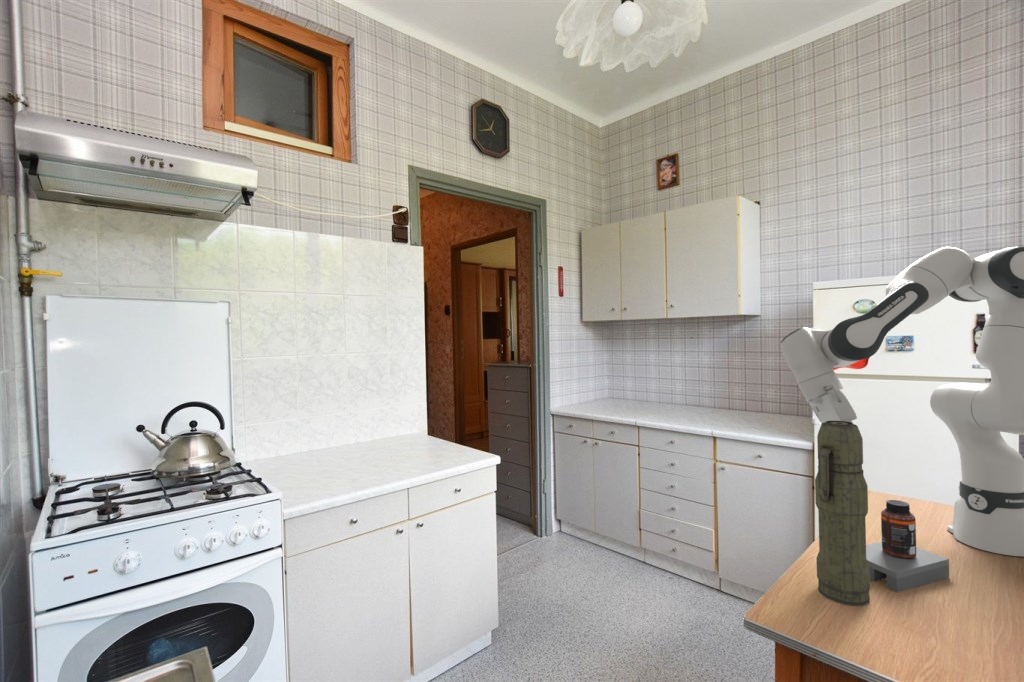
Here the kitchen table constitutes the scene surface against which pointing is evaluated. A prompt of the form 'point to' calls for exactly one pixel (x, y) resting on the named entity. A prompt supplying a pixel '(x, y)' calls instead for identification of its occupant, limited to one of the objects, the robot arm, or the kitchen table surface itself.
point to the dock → (905, 568)
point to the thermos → (842, 515)
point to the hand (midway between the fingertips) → (849, 440)
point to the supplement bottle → (898, 530)
